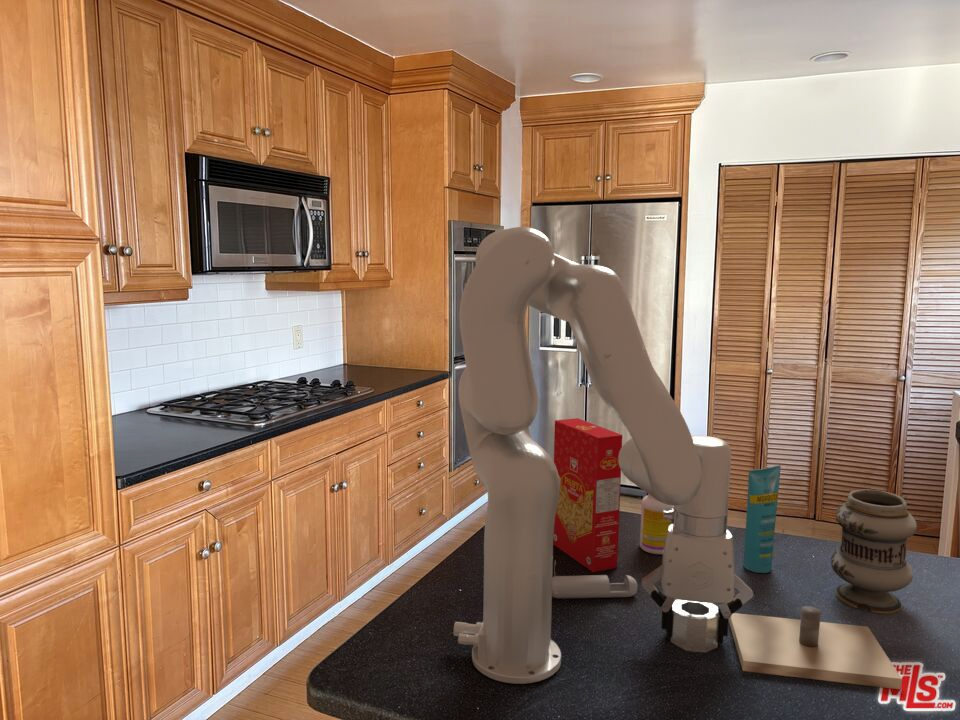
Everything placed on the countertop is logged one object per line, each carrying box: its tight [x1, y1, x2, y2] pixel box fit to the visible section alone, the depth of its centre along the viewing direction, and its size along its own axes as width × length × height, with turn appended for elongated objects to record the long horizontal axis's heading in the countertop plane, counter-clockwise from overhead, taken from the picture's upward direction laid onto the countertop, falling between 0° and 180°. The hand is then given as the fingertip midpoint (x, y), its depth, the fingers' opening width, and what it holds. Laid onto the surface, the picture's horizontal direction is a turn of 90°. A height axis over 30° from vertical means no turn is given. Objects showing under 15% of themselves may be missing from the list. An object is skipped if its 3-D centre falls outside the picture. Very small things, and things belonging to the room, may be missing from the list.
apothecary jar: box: [830, 488, 918, 614], centre depth 120 cm, size 12×12×18 cm
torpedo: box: [552, 559, 638, 600], centre depth 121 cm, size 18×5×6 cm, turn 94°
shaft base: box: [728, 605, 903, 690], centre depth 104 cm, size 20×14×6 cm
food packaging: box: [553, 417, 623, 573], centre depth 137 cm, size 15×5×25 cm, turn 25°
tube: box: [743, 464, 781, 574], centre depth 132 cm, size 7×5×19 cm, turn 120°
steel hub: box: [669, 600, 720, 654], centre depth 107 cm, size 7×7×5 cm
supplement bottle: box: [639, 493, 674, 556], centre depth 141 cm, size 7×7×13 cm
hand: (693, 635), depth 108 cm, fingers closed on steel hub, 6 cm apart
